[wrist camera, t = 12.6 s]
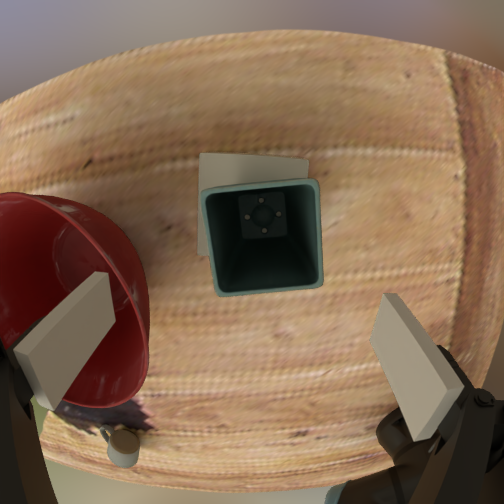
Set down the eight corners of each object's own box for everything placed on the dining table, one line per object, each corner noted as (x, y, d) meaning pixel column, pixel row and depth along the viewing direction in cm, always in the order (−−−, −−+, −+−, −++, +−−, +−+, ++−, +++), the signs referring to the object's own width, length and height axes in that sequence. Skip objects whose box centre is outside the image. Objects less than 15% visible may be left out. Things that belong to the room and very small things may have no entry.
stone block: (301, 157, 34) (309, 160, 29) (292, 244, 38) (298, 262, 33) (209, 151, 34) (199, 152, 29) (206, 238, 38) (197, 255, 33)
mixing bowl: (156, 368, 47) (128, 437, 32) (25, 298, 43) (-25, 342, 29) (213, 217, 37) (183, 265, 23) (42, 147, 34) (-34, 160, 20)
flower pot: (302, 167, 29) (319, 177, 21) (308, 250, 32) (324, 288, 24) (215, 176, 30) (197, 190, 21) (227, 258, 33) (215, 298, 24)
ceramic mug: (144, 434, 55) (134, 460, 47) (141, 449, 57) (133, 472, 50) (101, 416, 54) (89, 440, 47) (102, 432, 57) (91, 455, 49)
